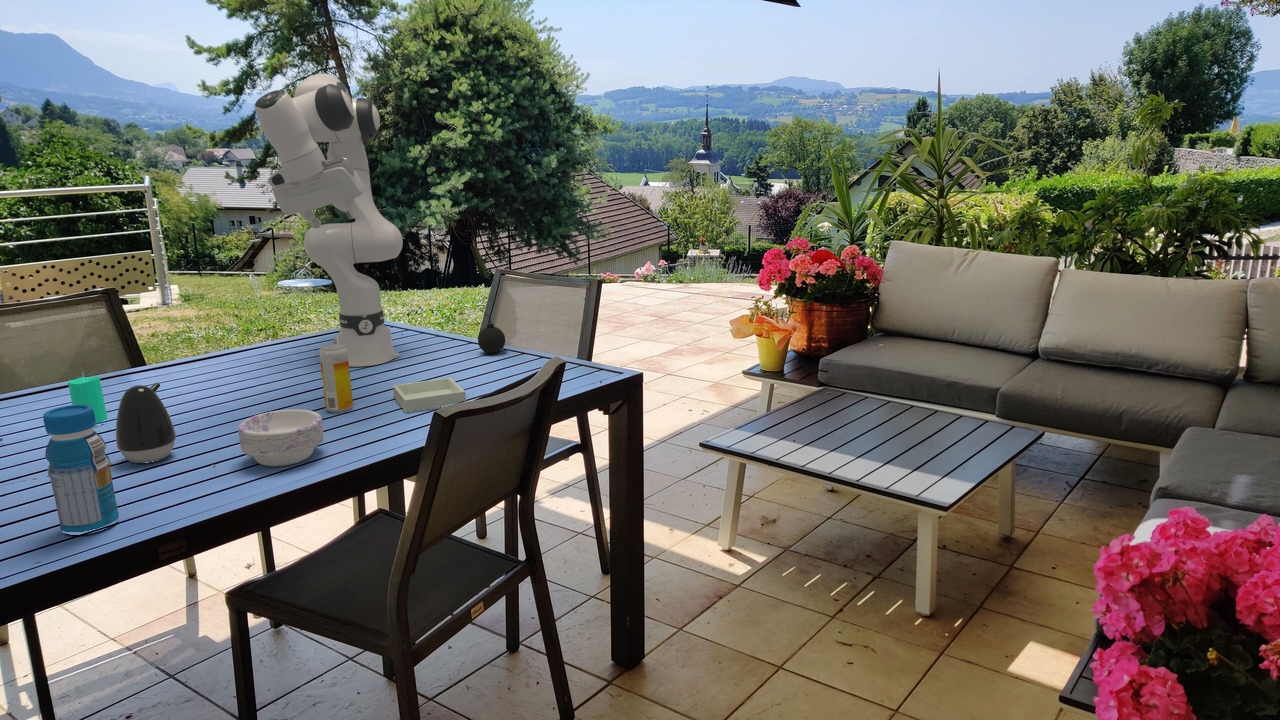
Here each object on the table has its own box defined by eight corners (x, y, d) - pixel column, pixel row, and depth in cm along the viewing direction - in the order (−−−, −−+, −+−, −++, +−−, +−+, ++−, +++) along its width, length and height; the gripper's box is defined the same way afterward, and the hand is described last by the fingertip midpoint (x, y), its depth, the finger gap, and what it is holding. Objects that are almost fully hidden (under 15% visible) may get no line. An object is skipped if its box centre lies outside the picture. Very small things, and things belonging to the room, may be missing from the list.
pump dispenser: (191, 451, 173) (179, 379, 169) (152, 470, 163) (138, 394, 160) (148, 448, 175) (136, 377, 172) (107, 466, 166) (93, 392, 162)
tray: (394, 397, 207) (393, 385, 206) (451, 389, 213) (450, 377, 212) (406, 413, 195) (404, 400, 194) (466, 404, 201) (465, 391, 200)
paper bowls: (323, 466, 163) (319, 427, 161) (237, 477, 159) (231, 437, 157) (328, 441, 177) (323, 404, 176) (249, 450, 173) (243, 412, 171)
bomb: (509, 350, 251) (507, 310, 248) (500, 357, 244) (498, 315, 241) (484, 349, 253) (481, 310, 250) (474, 356, 245) (471, 315, 242)
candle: (114, 421, 194) (104, 370, 191) (90, 429, 188) (80, 377, 185) (94, 419, 195) (85, 368, 192) (70, 427, 190) (59, 375, 187)
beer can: (357, 405, 201) (351, 343, 198) (346, 413, 195) (339, 350, 192) (333, 405, 202) (326, 343, 198) (321, 413, 196) (313, 349, 192)
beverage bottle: (69, 543, 134) (44, 422, 129) (53, 528, 139) (28, 411, 134) (128, 524, 140) (107, 408, 135) (110, 511, 145) (89, 399, 140)
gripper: (352, 149, 188) (380, 206, 195) (274, 171, 193) (304, 226, 200) (340, 159, 183) (369, 217, 190) (260, 182, 188) (292, 237, 195)
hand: (335, 222), depth 195 cm, fingers open, 8 cm apart
